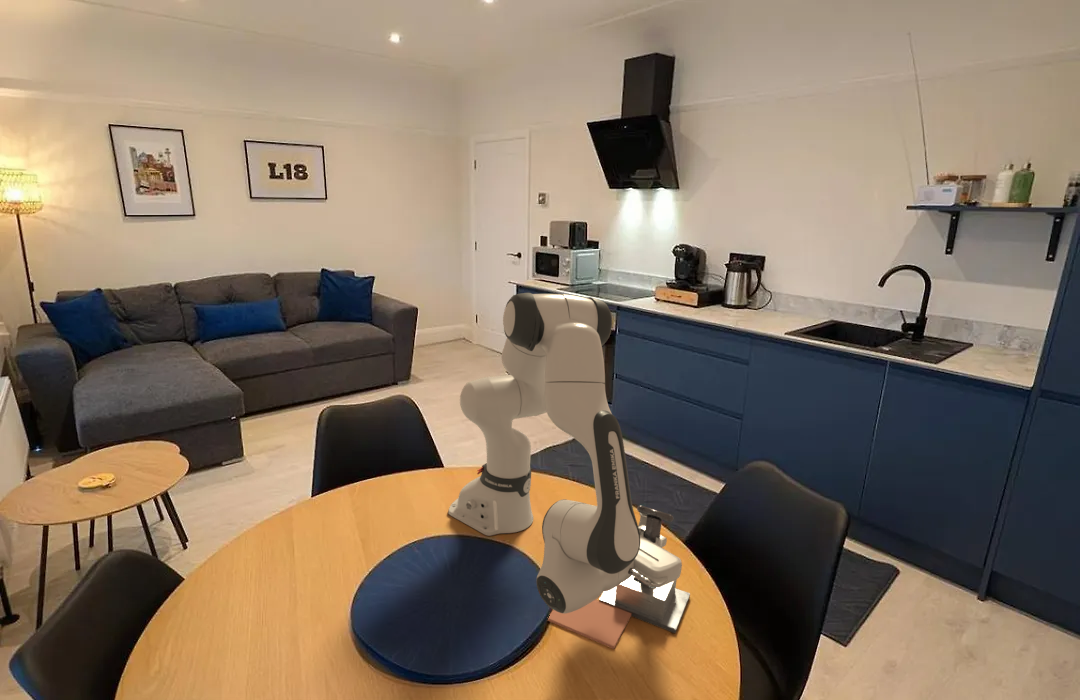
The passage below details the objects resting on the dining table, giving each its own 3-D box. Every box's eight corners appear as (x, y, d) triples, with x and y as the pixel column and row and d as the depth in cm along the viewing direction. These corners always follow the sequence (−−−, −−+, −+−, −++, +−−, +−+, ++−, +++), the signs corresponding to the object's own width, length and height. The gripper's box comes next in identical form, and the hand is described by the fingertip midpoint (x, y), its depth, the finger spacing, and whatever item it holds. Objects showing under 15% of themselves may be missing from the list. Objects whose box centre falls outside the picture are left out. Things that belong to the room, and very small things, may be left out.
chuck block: (599, 603, 114) (601, 580, 112) (618, 571, 124) (621, 550, 123) (675, 633, 107) (678, 609, 105) (689, 597, 117) (692, 575, 116)
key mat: (547, 620, 108) (547, 617, 108) (568, 591, 117) (568, 588, 117) (613, 649, 102) (614, 646, 102) (631, 616, 110) (631, 613, 110)
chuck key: (628, 569, 114) (635, 508, 110) (632, 562, 117) (640, 501, 113) (662, 582, 111) (671, 519, 107) (666, 574, 113) (675, 512, 110)
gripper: (657, 574, 95) (701, 545, 104) (573, 521, 109) (618, 499, 118) (653, 605, 96) (696, 573, 106) (571, 548, 111) (615, 525, 120)
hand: (654, 534), depth 112 cm, fingers closed on chuck key, 3 cm apart
